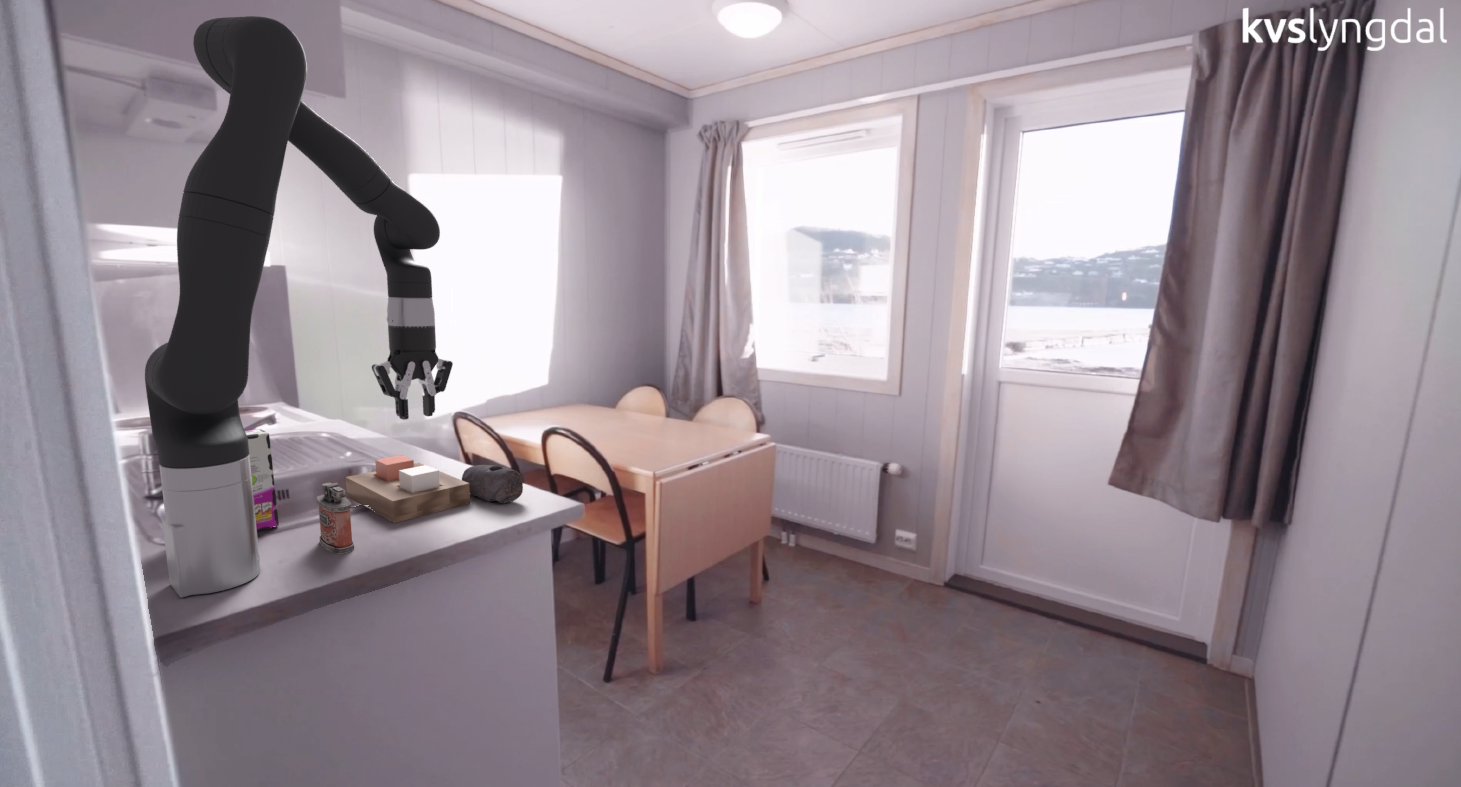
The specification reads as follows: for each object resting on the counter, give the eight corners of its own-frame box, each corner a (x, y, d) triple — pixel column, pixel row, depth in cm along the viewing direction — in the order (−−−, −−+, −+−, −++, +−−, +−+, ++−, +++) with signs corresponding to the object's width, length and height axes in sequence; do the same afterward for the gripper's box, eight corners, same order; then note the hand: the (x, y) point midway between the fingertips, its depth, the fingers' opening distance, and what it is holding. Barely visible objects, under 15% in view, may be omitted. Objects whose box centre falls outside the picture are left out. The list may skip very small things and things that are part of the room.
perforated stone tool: (453, 495, 122) (451, 461, 121) (475, 488, 127) (474, 455, 126) (503, 510, 115) (503, 474, 114) (526, 502, 119) (525, 468, 118)
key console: (394, 523, 107) (392, 501, 106) (347, 496, 119) (345, 476, 118) (470, 503, 118) (469, 483, 117) (419, 481, 130) (419, 462, 129)
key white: (412, 497, 111) (411, 476, 111) (399, 491, 114) (398, 470, 114) (439, 490, 115) (438, 470, 115) (426, 485, 118) (425, 465, 118)
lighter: (314, 541, 98) (310, 481, 97) (338, 535, 101) (333, 477, 99) (335, 555, 93) (330, 493, 92) (359, 549, 96) (355, 488, 95)
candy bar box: (269, 520, 106) (261, 427, 104) (279, 527, 103) (271, 432, 101) (185, 539, 97) (173, 438, 95) (194, 547, 95) (182, 444, 92)
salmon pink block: (387, 485, 117) (386, 465, 117) (376, 479, 120) (375, 459, 120) (414, 479, 121) (413, 460, 121) (402, 474, 124) (401, 455, 124)
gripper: (378, 325, 102) (384, 426, 105) (460, 323, 113) (463, 415, 116) (359, 322, 106) (365, 419, 109) (440, 321, 117) (443, 409, 120)
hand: (416, 416), depth 112 cm, fingers open, 3 cm apart
